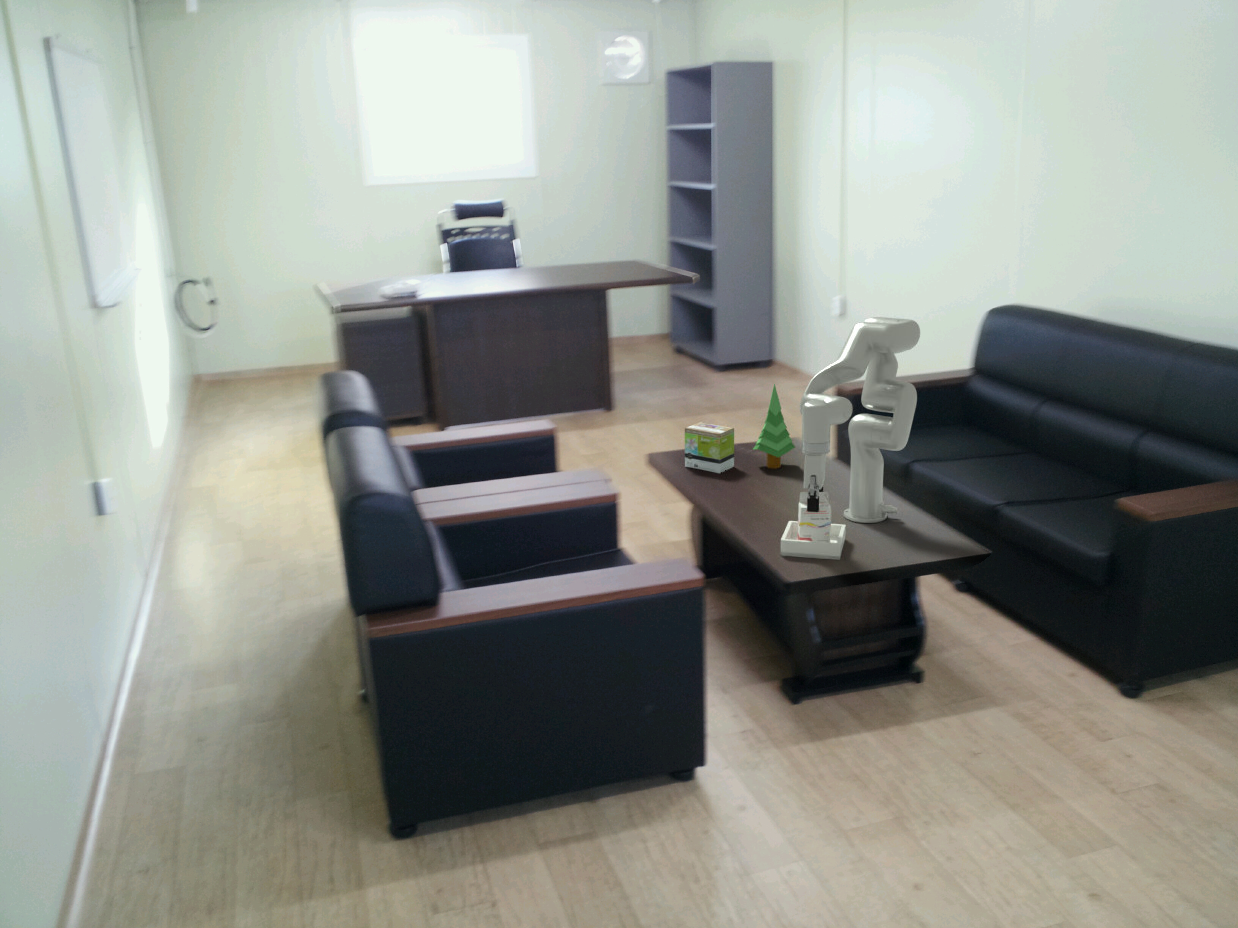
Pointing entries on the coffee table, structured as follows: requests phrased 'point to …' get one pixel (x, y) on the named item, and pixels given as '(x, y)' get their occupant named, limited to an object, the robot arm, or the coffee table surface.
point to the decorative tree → (774, 434)
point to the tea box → (709, 447)
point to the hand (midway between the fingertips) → (815, 505)
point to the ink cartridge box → (814, 519)
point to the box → (813, 543)
